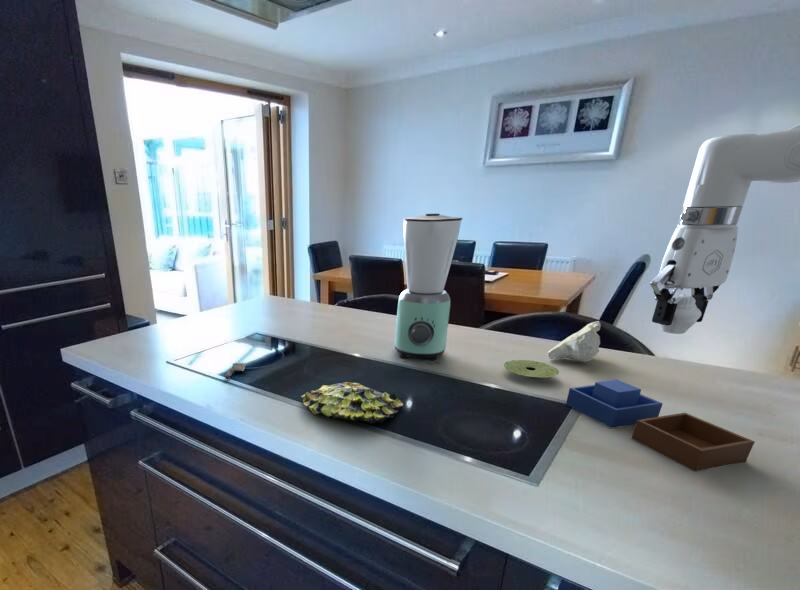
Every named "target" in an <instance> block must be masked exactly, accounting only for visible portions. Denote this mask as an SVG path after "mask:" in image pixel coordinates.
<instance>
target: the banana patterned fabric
mask: <svg viewBox="0 0 800 590" xmlns="http://www.w3.org/2000/svg"><path fill="white" fill-rule="evenodd" d="M300 397H301V398H302V399H303V400H302V403H303V406H305V407H306V408H307V409H308V410H309V411H310V412H311V413H312V414H313V415H318V414H323V415H324V416H326V417H327V418H329V417H331V416H332V417H333V419H335V418H336V419H341V420H343V419H344V420H346V421H359V420H360V421H362V422H366V423H368V424H375V423H383V422H385V421H387V420H389V419H393V418H394V417H395V415H397V414H398V413H399V412H400V410H401V409H402V407H403V406H404V403H403V402H402V401H401V400H400V399H399V398H398V397H397V395H396V394H395V393H390V394H389V393H387V391H385V392H384V391H383V390H376V389H373V388H370V387H367V386H365V385H363V384H361V383H359V382H350V381H346V382H339V383H334V384H330V385H325V384H322V386H320V387H319V388H318V389H316V390H313V389H311V391H306V392H305V393H304V394H303V395H300Z"/></svg>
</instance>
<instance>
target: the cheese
mask: <svg viewBox="0 0 800 590" xmlns="http://www.w3.org/2000/svg"><path fill="white" fill-rule="evenodd" d="M600 330H601V322H600V321H599V320H598V321H597V320H596V321H592V322H590V323H587V324H586V325H585V326H583V327H582V328H581V329H580V330H578V331H576V332H575V333H572V334H571V335H569V336H567V337H566V338H565V339H563V340H561V341H560V342H559V343H557V344H556V345H555V346H554V347H552V348H551V349H549V350H548V351H547V353H546V355H547V357H548V359H549V360H554V361H556V360H563V359H564V360H566V359H568V360H576V361H579V362H583V363H587V362H589V361H591V360H594V358H595V357H596V356H597V354H598V353H599V351H600V350H599V349H600V348H599V346H600V345H601V336H600V335H599V334H598V333H597V332H599V331H600Z"/></svg>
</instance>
